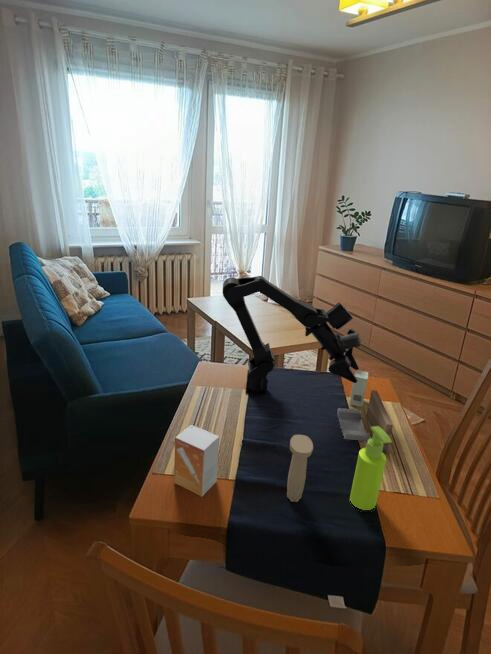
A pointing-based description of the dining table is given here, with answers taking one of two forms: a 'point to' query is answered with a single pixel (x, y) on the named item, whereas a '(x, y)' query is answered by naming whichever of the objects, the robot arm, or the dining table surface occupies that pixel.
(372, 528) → the dining table surface
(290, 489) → the handle
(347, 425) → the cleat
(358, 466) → the soap dispenser
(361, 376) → the sage green block
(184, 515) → the dining table surface
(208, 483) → the small box
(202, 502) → the dining table surface
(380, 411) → the wall board
